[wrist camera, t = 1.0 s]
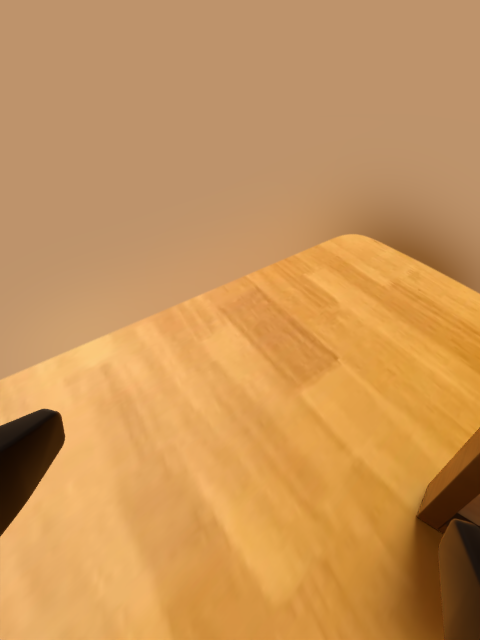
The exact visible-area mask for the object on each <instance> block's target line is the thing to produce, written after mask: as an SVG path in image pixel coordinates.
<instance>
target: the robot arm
mask: <svg viewBox="0 0 480 640" xmlns="http://www.w3.org/2000/svg"><path fill="white" fill-rule="evenodd" d="M64 441H65V433H64V428H63V422H62V417H61V414H60V413H59V412H57V411H53V410H49V409H41V410H38V411H36V412H33V413H31V414H28V415H26V416H24V417H21V418H19V419H16V420H14V421H11V422H9V423H6V424H4V425H1V426H0V536H1V535H2V534H3V533H4V531H5V530H6V529H7V527H8V526H9V525H10V523H11V522H12V521H13V520H14V518H15V517H16V516H17V514H18V513H19V512H20V510H21V509H22V508H23V506H24V505H25V504H26V502H27V501H28V499H29V498H30V496H31V495H32V493H33V492H34V490H35V489H36V487H37V486H38V484H39V482H40V481H41V479H42V478H43V476H44V475H45V473H46V471H47V470H48V468H49V467H50V465H51V464H52V462H53V461H54V459H55V457H56V456H57V454H58V453H59V451H60V450H61V448H62V446H63V444H64ZM438 560H439V574H440V587H441V600H442V614H443V627H444V638H445V640H480V528H479V527H478V526H477V525H476V524H474V523H471V522H467V521H463V520H459V519H453V520H452V521H451V522H450V524H449V526H448V528H447V530H446V531H445V533H444V535H443V537H442V539H441V541H440V544H439V549H438Z"/></svg>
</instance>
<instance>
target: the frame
mask: <svg viewBox="0 0 480 640" xmlns="http://www.w3.org/2000/svg"><path fill="white" fill-rule="evenodd" d="M417 517H418V518H419V519H421V520H422V521H424V522H425V523H427V524H429V525H430V526H432V527H433V528H435V529H438V531H440V532H441V533H443V534H444V533H445V531H446V530H447V528H448V526H449V524H450V522H451V521H452V520H453V519H459V520H463V521H467V522H471V523H474V524H476V525H477V526H478V527H479V528H480V428H479V429H478V430H477V431H476V432H475V433H474V435H473V436H472V437H471V438H470V439H469V440H468V441H467V442H466V443H465V445H464V446H463V447H462V448H461V449H460V450H459V451H458V452H457V453H456V455H455V456H454V457H453V458H452V459H451V460H450V461H449V462H448V463H447V465H446V466H445V467H444V468H443V469H442V470H441V471H440V472H439V474H438V475H437V476H436V477H435V478H434V479H433V480H432V481H431V482H430V484H429V485H428V488H427V491H426V493H425V496H424V498H423V501H422V503H421V506H420V509H419V511H418V514H417Z"/></svg>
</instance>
